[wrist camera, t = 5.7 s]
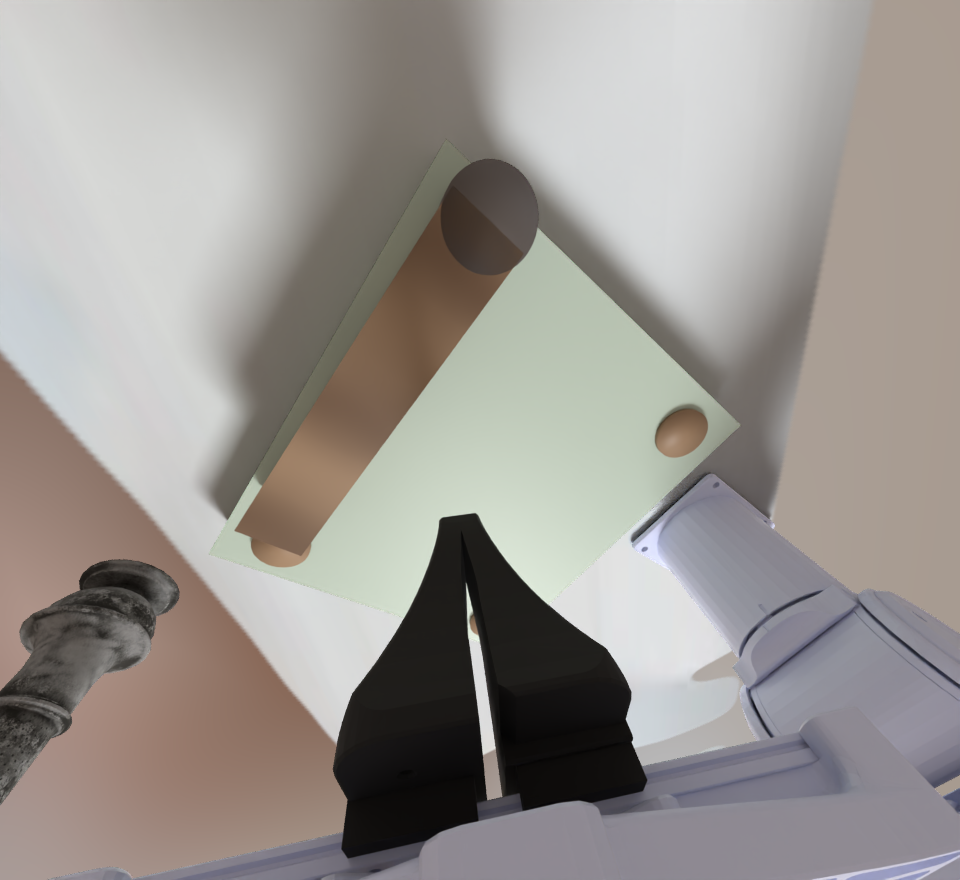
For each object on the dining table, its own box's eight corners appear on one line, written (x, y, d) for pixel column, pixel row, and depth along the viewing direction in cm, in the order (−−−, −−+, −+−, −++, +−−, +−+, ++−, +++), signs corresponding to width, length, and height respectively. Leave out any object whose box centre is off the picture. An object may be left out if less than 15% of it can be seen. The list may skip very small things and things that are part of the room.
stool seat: (711, 408, 23) (745, 427, 21) (494, 620, 30) (501, 653, 28) (442, 154, 15) (446, 136, 13) (229, 523, 22) (205, 558, 20)
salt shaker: (81, 544, 21) (-248, 833, 11) (194, 570, 23) (10, 834, 13) (69, 608, 23) (-218, 904, 13) (174, 627, 25) (2, 894, 15)
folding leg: (469, 154, 13) (482, 130, 11) (532, 218, 14) (557, 212, 12) (258, 489, 18) (231, 530, 16) (318, 515, 19) (303, 557, 17)
